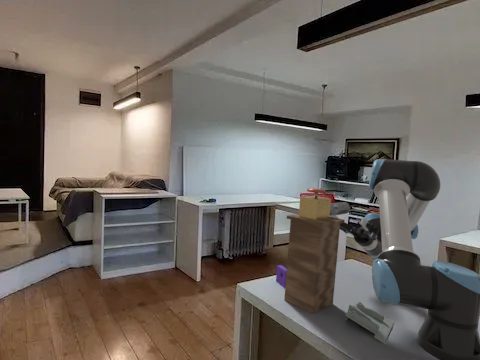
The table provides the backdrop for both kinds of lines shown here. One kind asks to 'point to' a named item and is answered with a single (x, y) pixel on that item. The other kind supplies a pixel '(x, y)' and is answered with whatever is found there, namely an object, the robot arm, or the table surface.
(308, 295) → the stand
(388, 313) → the table surface
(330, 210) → the valve pipe
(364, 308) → the metal bracket
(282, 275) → the bracket
